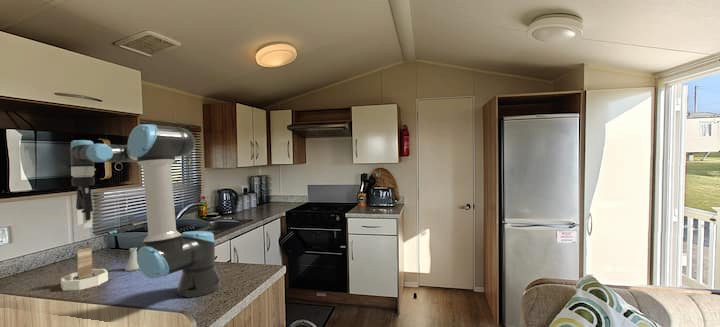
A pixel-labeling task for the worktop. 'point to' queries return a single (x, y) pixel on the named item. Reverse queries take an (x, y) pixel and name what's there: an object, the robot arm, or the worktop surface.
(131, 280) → the worktop surface
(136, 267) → the flask
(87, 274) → the wooden block
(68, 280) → the white octagonal tray
